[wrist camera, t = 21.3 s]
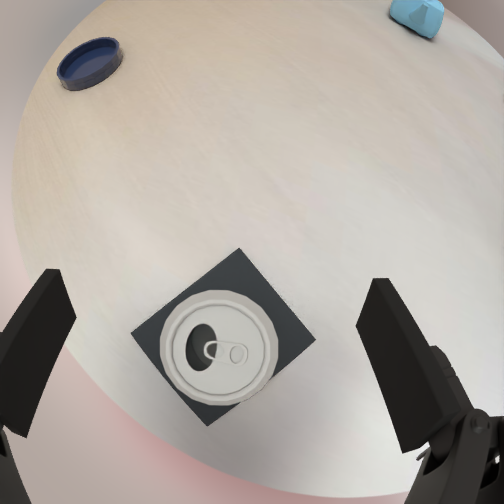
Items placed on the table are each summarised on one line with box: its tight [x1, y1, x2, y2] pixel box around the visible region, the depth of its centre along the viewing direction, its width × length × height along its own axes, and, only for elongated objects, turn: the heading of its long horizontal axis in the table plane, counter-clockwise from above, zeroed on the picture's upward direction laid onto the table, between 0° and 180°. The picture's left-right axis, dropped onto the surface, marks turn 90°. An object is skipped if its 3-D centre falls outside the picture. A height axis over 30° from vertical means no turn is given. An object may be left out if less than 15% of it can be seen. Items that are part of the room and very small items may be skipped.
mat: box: [131, 248, 316, 426], centre depth 28 cm, size 14×12×1 cm
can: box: [160, 290, 278, 405], centre depth 22 cm, size 8×8×12 cm
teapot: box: [390, 0, 444, 38], centre depth 41 cm, size 12×18×12 cm
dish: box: [57, 37, 122, 91], centre depth 35 cm, size 11×11×2 cm
